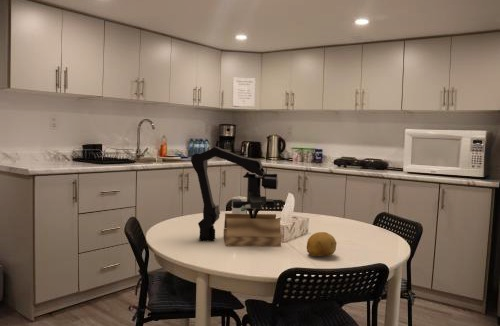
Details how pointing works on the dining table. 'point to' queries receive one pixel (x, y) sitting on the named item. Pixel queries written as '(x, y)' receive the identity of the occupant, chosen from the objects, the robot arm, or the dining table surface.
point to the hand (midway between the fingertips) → (252, 222)
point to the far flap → (247, 217)
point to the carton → (251, 241)
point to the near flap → (253, 227)
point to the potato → (321, 244)
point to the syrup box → (242, 209)
